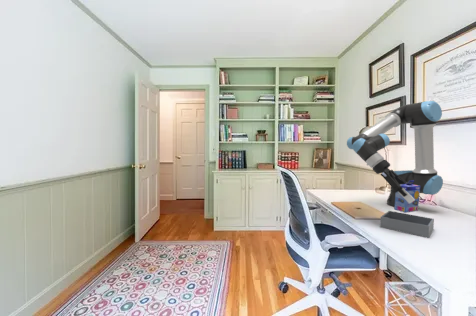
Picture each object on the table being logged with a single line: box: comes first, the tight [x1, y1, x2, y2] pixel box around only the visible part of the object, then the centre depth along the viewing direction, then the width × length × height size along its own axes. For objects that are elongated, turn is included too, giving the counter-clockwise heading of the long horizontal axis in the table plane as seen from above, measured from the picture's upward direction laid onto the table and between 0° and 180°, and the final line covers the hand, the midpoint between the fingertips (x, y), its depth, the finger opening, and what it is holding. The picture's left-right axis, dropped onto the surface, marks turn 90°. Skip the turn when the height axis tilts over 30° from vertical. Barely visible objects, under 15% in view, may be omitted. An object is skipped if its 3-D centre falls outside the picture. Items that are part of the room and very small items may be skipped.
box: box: [379, 210, 435, 239], centre depth 109 cm, size 15×18×5 cm
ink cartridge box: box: [393, 180, 421, 214], centre depth 108 cm, size 10×6×14 cm, turn 113°
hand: (414, 199), depth 106 cm, fingers closed on ink cartridge box, 11 cm apart
